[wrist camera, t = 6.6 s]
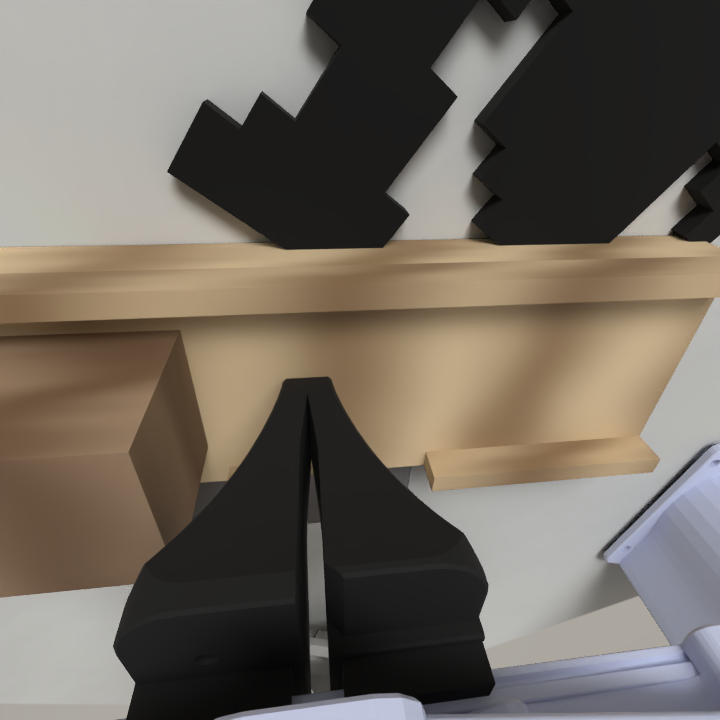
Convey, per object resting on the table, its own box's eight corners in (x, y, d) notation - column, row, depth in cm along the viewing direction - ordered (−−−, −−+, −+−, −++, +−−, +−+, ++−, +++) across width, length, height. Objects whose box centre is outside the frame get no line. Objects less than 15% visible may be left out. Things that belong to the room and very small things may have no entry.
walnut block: (180, 329, 12) (128, 452, 8) (208, 446, 14) (178, 579, 11) (0, 336, 11) (-143, 470, 8) (62, 456, 14) (-21, 599, 10)
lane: (691, 235, 14) (822, 293, 11) (570, 494, 22) (623, 578, 18) (-52, 248, 12) (-203, 331, 8) (102, 536, 19) (59, 644, 16)
